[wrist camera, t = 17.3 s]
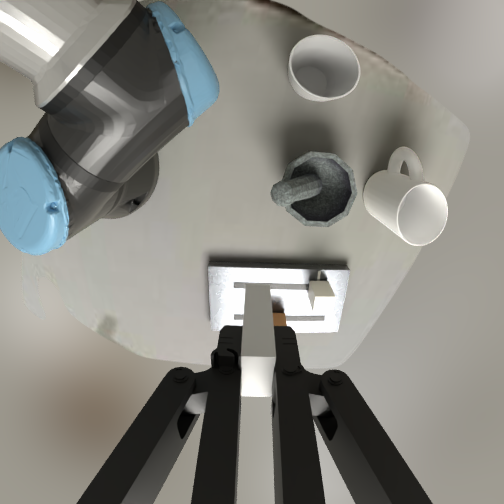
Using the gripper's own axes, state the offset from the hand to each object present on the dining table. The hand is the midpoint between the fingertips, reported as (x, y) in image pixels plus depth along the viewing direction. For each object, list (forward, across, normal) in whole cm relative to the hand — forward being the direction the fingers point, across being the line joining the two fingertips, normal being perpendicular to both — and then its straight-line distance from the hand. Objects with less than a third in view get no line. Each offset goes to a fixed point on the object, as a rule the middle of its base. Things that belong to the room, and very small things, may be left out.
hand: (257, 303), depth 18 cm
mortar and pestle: (+27, +7, +4) cm, 28 cm away
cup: (+27, +7, +19) cm, 33 cm away
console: (+26, +4, -15) cm, 31 cm away
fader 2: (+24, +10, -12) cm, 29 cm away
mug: (+27, +20, +5) cm, 34 cm away
